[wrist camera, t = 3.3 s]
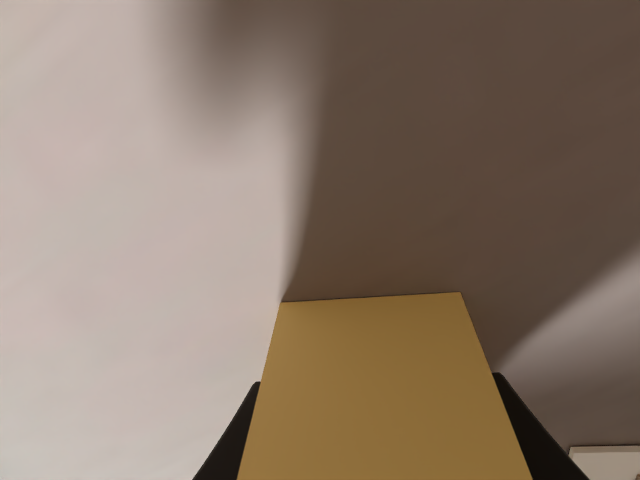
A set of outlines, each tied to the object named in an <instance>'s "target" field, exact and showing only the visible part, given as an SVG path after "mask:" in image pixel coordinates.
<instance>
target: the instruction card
mask: <svg viewBox="0 0 640 480" xmlns="http://www.w3.org/2000/svg"><path fill="white" fill-rule="evenodd" d="M569 457H570V458H571V459H572V460H573V461H574V463H575V464H576V465H577V466H578V467H579V468H580V469H581V470H582V471H583V473H584V474H585V475H586V476H587V477H588V478H589V479H590V480H640V446H591V447H571V448H570V452H569Z"/></svg>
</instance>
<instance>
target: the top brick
mask: <svg viewBox="0 0 640 480" xmlns="http://www.w3.org/2000/svg"><path fill="white" fill-rule="evenodd" d="M237 480H533V479H532V477H531V474H530V472H529V469H528V466H527V464H526V461H525V459H524V456H523V453H522V451H521V448H520V446H519V443H518V440H517V438H516V435H515V433H514V430H513V428H512V425H511V422H510V420H509V417H508V415H507V412H506V409H505V407H504V404H503V402H502V399H501V396H500V394H499V391H498V389H497V386H496V383H495V381H494V378H493V376H492V373H491V370H490V368H489V365H488V363H487V360H486V358H485V355H484V352H483V350H482V347H481V345H480V342H479V339H478V337H477V334H476V332H475V329H474V326H473V324H472V321H471V319H470V316H469V313H468V311H467V308H466V306H465V303H464V301H463V298H462V295H461V293H460V292H452V293H436V294H419V295H402V296H385V297H368V298H351V299H335V300H318V301H301V302H284V303H280V306H279V310H278V314H277V318H276V322H275V326H274V330H273V334H272V338H271V343H270V347H269V351H268V355H267V359H266V363H265V367H264V371H263V375H262V379H261V383H260V387H259V391H258V395H257V399H256V403H255V408H254V412H253V416H252V420H251V424H250V428H249V432H248V436H247V440H246V444H245V448H244V452H243V456H242V460H241V464H240V469H239V473H238V477H237Z"/></svg>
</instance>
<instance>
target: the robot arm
mask: <svg viewBox="0 0 640 480" xmlns="http://www.w3.org/2000/svg"><path fill="white" fill-rule="evenodd" d="M492 376H493V378H494V381H495V383H496V386H497V389H498V391H499V394H500V396H501V399H502V402H503V404H504V407H505V409H506V412H507V415H508V417H509V420H510V422H511V425H512V428H513V430H514V433H515V435H516V438H517V440H518V443H519V446H520V448H521V451H522V453H523V456H524V459H525V461H526V464H527V466H528V469H529V472H530V474H531V477H532V479H533V480H590V479H589V478H588V477H587V476H586V475H585V474H584V473H583V471H582V470H581V469H580V468H579V467H578V466H577V465H576V464H575V463H574V461H573V460H572V459H571V458H570V457H569V456H568V455H567V454H566V452H565V451H564V450H563V449H562V448H561V447H560V446H559V444H558V443H557V442H556V441H555V440H554V439H553V438H552V436H551V435H550V434H549V433H548V432H547V431H546V429H545V428H544V427H543V426H542V425H541V423H540V422H539V421H538V420H537V418H536V417H535V416H534V415H533V414H532V412H531V411H530V410H529V409H528V407H527V406H526V405H525V404H524V402H523V401H522V400H521V398H520V397H519V396H518V395H517V393H516V392H515V391H514V389H513V388H512V387H511V385H510V384H509V383H508V381H507V380H506V379H505V377H504V376H503V375H502V374H501V373H499V372H498V373H492ZM260 383H261V382H255V383H254V384H253V385H252V387H251V389H250V390H249V392H248V394H247V396H246V397H245V399H244V401H243V402H242V404H241V406H240V408H239V409H238V411H237V413H236V414H235V416H234V417H233V419H232V421H231V422H230V424H229V426H228V427H227V429H226V430H225V432H224V434H223V435H222V437H221V438H220V440H219V441H218V443H217V444H216V446H215V447H214V449H213V450H212V452H211V453H210V455H209V456H208V458H207V459H206V461H205V462H204V464H203V465H202V467H201V468H200V470H199V471H198V472H197V474H196V475H195V477H194V478H193V479H192V480H237V477H238V473H239V469H240V464H241V460H242V456H243V452H244V448H245V444H246V440H247V436H248V432H249V428H250V424H251V420H252V416H253V412H254V408H255V403H256V399H257V395H258V391H259V387H260Z"/></svg>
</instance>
